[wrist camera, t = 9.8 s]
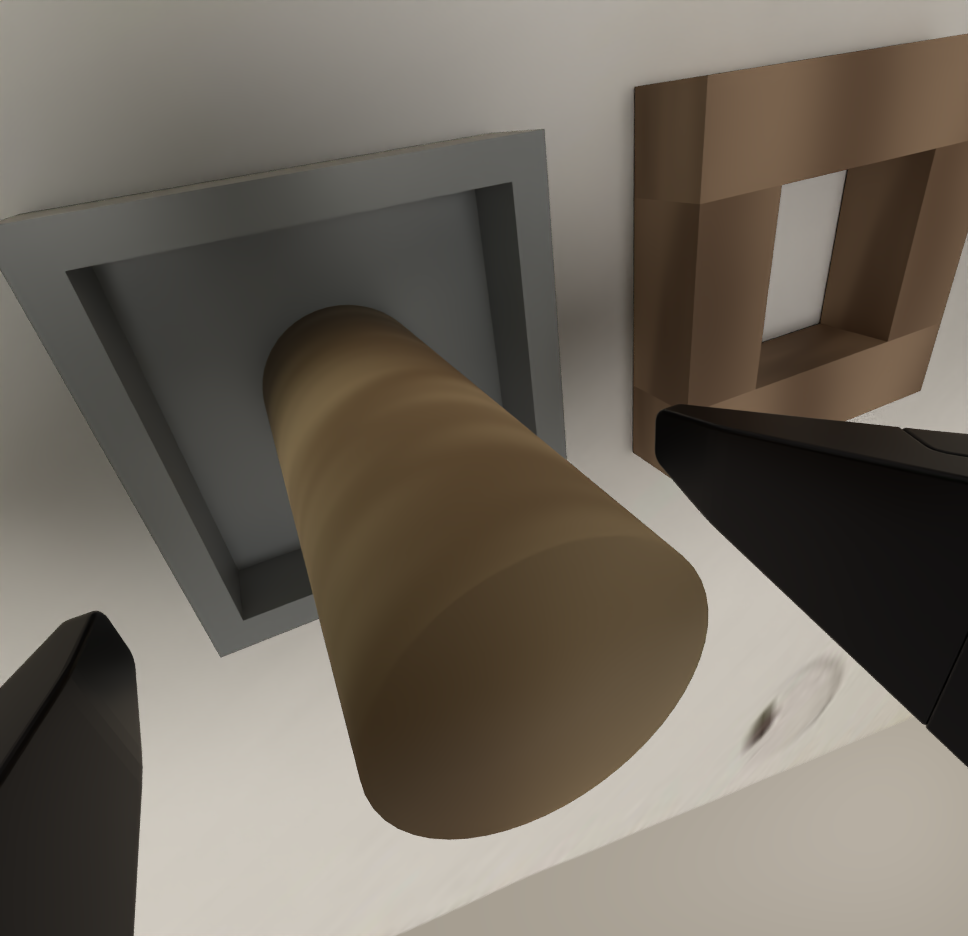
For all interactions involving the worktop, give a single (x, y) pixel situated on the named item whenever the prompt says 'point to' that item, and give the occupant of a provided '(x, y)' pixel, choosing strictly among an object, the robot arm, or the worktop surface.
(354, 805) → the worktop surface
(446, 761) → the dowel
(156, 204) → the tray
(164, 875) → the worktop surface
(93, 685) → the robot arm
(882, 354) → the square wooden frame
